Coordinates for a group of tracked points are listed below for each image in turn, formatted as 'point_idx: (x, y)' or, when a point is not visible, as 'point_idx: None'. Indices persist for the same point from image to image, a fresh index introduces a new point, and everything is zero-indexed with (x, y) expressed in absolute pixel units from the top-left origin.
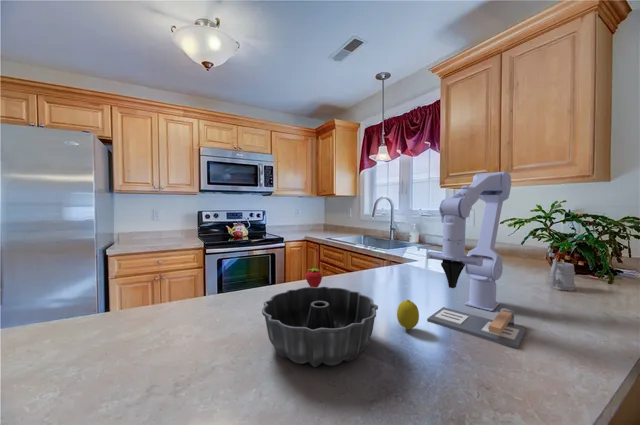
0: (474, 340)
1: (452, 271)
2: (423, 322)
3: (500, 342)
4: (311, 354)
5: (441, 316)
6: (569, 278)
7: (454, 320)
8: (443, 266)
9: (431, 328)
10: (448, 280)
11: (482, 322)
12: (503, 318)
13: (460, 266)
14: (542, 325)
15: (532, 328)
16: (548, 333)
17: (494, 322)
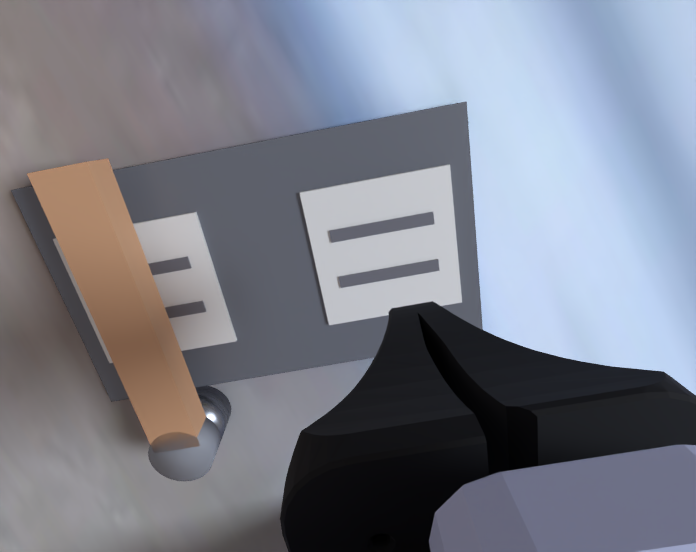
0: (171, 94)
1: (421, 381)
2: (468, 63)
3: None
4: None
5: (420, 196)
6: None
7: (344, 207)
8: (610, 378)
9: (392, 23)
10: (452, 321)
11: (250, 312)
12: (119, 336)
13: (284, 492)
14: (126, 499)
15: (127, 445)
16: (70, 445)
17: (104, 238)
